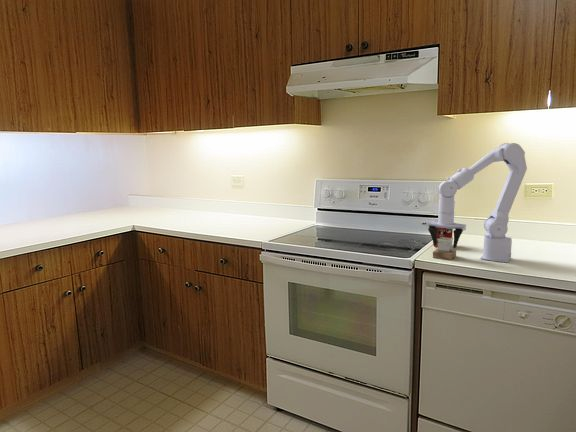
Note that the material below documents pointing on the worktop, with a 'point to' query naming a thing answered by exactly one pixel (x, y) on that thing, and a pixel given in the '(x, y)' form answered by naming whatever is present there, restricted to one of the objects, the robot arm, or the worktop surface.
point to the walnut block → (444, 254)
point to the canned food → (443, 233)
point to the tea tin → (445, 244)
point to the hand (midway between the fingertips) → (444, 246)
